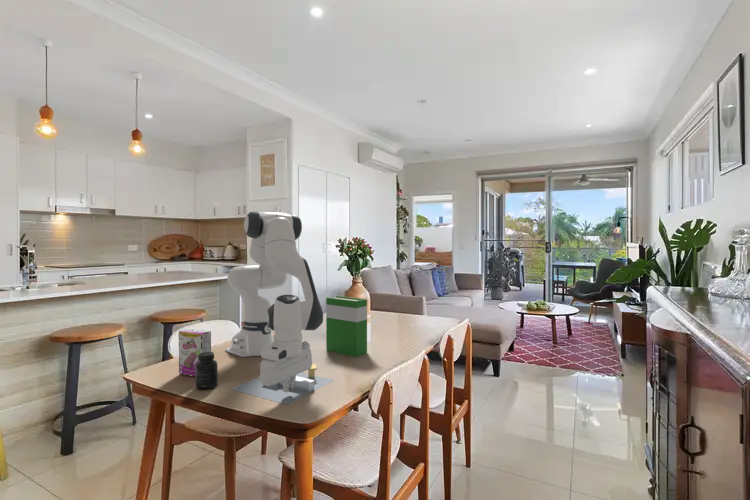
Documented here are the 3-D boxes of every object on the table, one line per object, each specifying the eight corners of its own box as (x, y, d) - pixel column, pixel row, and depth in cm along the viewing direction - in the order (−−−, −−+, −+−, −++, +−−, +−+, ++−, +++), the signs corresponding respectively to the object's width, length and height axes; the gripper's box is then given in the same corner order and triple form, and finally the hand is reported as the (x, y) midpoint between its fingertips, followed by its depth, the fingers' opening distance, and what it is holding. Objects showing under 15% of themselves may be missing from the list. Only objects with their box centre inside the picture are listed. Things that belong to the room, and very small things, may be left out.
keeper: (308, 380, 136) (308, 368, 136) (307, 376, 140) (307, 364, 140) (316, 379, 136) (316, 368, 136) (315, 375, 141) (315, 364, 141)
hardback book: (326, 350, 176) (326, 297, 176) (337, 346, 182) (337, 295, 182) (356, 357, 166) (356, 301, 165) (367, 353, 172) (367, 299, 171)
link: (317, 387, 129) (317, 378, 129) (305, 394, 123) (305, 385, 123) (277, 378, 138) (277, 369, 138) (263, 383, 133) (263, 375, 132)
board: (230, 391, 128) (230, 388, 128) (281, 370, 149) (281, 368, 149) (287, 407, 116) (287, 404, 116) (334, 382, 136) (334, 379, 136)
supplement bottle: (200, 385, 133) (199, 350, 133) (220, 385, 134) (220, 350, 133) (192, 393, 126) (191, 356, 126) (213, 392, 127) (213, 356, 127)
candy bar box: (178, 375, 144) (177, 331, 143) (188, 370, 148) (188, 328, 148) (202, 378, 140) (201, 333, 139) (212, 374, 145) (211, 330, 144)
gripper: (301, 338, 133) (302, 378, 133) (256, 353, 115) (256, 400, 115) (316, 341, 130) (316, 382, 130) (272, 357, 112) (272, 404, 112)
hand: (288, 390), depth 122 cm, fingers closed
